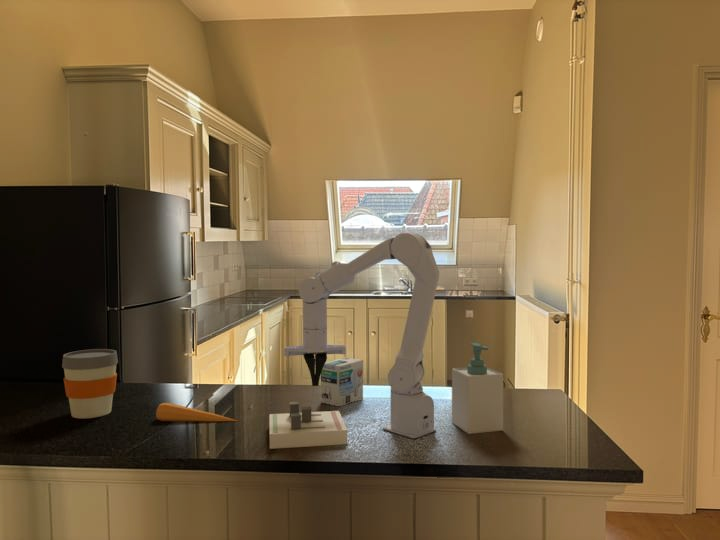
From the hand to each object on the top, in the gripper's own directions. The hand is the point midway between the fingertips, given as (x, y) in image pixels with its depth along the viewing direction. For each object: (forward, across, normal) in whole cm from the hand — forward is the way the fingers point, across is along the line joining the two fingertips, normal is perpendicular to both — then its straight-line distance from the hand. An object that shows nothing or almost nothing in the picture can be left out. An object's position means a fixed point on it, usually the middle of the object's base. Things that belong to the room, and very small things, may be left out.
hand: (315, 385), depth 132 cm
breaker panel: (+8, +3, +11) cm, 14 cm away
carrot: (+9, +28, -4) cm, 30 cm away
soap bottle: (+9, -36, +11) cm, 39 cm away
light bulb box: (+9, -8, -16) cm, 20 cm away
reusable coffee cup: (+9, +55, -15) cm, 57 cm away
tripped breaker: (+5, +3, +11) cm, 12 cm away
